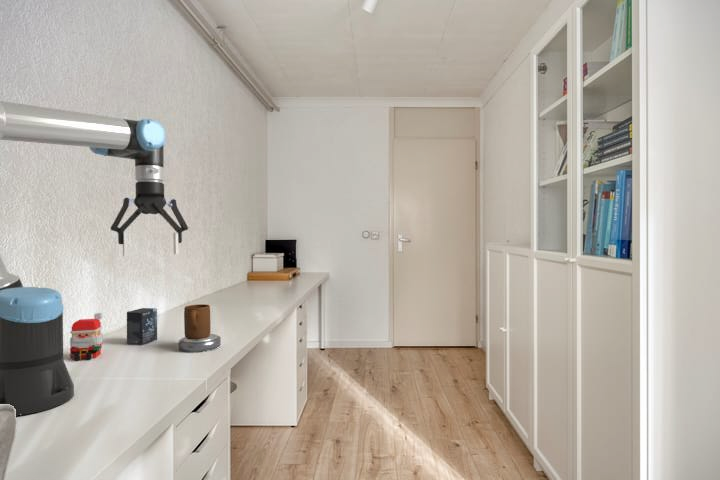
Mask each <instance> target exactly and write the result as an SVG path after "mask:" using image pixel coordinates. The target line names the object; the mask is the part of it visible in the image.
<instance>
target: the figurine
mask: <svg viewBox="0 0 720 480" xmlns="http://www.w3.org/2000/svg"><path fill="white" fill-rule="evenodd" d="M93 316H94V318H84V319H78V320H76V321H75V322H73V324H72V326H71V330H70V334H71V337H70V339H69V342H70V343H69V345H70V346H69V351H70V353H69V356H70V359H72V360H74V362H78V361H81V360H86V361H90V360H93V359H96V358H97V357H99V355H101V353H102V351H101V350H102V347H103V344H102V343H103V332H102V331H101V330H103V326H102V322H101V320H102V319H103V312H95V313H94V315H93Z"/></svg>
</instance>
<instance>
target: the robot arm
mask: <svg viewBox="0 0 720 480" xmlns="http://www.w3.org/2000/svg"><path fill="white" fill-rule="evenodd" d="M166 138H167V137H166V131H165V129H164V127H163V125H162V124H160V122H158V121H157V120H155V119H151V118H147V119H146V118H143V119H140V120H136V119H135V120H134V119H128V118H127V119H126V118H119V117H112V116H105V115H99V114H92V113H84V112H79V111H73V110H65V109H58V108H52V107H44V106H37V105H31V104H23V103H17V102H10V101H3V100H0V141H11V142H13V141H14V142H23V143H34V144H35V143H37V144H38V143H39V144H50V145H62V146H73V147H83V148H84V147H87V148H89V150H90V151H91V152H92V153H94V154H96V155H101V156H104V157H114V158H123V159H129V160H134V168H135V169H134V171H135V172H134V176H135V177H134V178H135V179H134V180H135V181H136V183H135V197H134V198H129V197H124V198H123V199H122V206H121V208H120V210H119V212H118V213H117V216H116V217H115V219H114V221H113V223H112V224H111V226H110V230H111V231H113V232H116V233H117V238H118V240H117V242H118V244H119V245H122V256H123V257H128V233H127V232H125V231H126V229H127V228H129V227H130V226H131V225H132V223H133V222H134V221H135V220H136V219H137V218H138V217H139V216H140V215H141V214H143V215H148V214H149V215H150V214H151V215H157V214H159V215H160V216H161V217H162V218H163V219H164V220H165V221H166V222H167V223H168V224H169V225H170V227H172V229H173V230H174V231H175V232H173V234H172V235H173V236H172V237H173V240H172V241H173V255H179V252H180V251H179V244H181V243H182V241H183V238H182V236H183V235H182V234H183V233H182V232H184V231H188V229H189V227H188V225H187V223H186V220H185V219H184V217H183V215H182V213H181V212H180V209H179V208H178V205H177V199H176V198H173V199H172V198H171V199H165V184H164V183H163V182H164V181H165V176H164V175H165V172H164V169H165V167H164V162H165V160H164V155H165V154H164V146H165V142H166ZM133 204H134V205H135V207H137V209H136V210H134V212H133V213H131V215H130V216H129V217H128V219H127V220H126V221H124V223H122V225H121V226H120V223H121V221H122V220H123V218H124V216H125V214H126V212H127V210H128V209H129V207H131V206H132V205H133ZM166 205H167V206H168V207H169V208H170V209H171V210H172V212H173V215H174V216H175V218H176V220H177V222H178V223H177V222H176V221H175V220H174V219H173V218H172V217H171V215H169V214H168V212H167V211H166V210H165V206H166ZM62 299H63V298H62V294H61V293H60V292H59V291H58V290H56V289H53V288H49V287H37V286H23V283H22V281H21V279H20V276H18V275H15V274H13V273H10V272H9V271H8V269H7V268H6V265H5V263H4V260H3V258H2V256H1V254H0V404H10V405H12V406H14V408H15V409H16V416H15V417H18V415H20V414H26V415H30V413H31V414H35V412H36V413H39V412H43V411H47V410H51V409H53V408H56V407H59V406H61V405H63V404H65V403H68V402H69V401H70V400H71V399H73V397H74V396H75V386H74V385H75V384H74V382H73V379H72V378H71V374H70V373H69V370H68V368H67V366H66V363H65V361H64V304H63V300H62ZM58 405H59V406H58ZM55 406H56V407H55ZM20 416H21V415H20Z"/></svg>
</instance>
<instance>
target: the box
mask: <svg viewBox="0 0 720 480" xmlns="http://www.w3.org/2000/svg"><path fill="white" fill-rule="evenodd" d="M157 340H158V308H156V307H155V308H153V307H151V308H150V307H141V308H137V309H134V310H130V311H129V310H128V311H126V345H132V346H143V345H145V344H147V343H150V342H154V341H157Z"/></svg>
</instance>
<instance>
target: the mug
mask: <svg viewBox="0 0 720 480" xmlns="http://www.w3.org/2000/svg"><path fill="white" fill-rule="evenodd" d="M183 309H184V311H183V323H184V337H186V338H188V339H199V338H205V337H208V336H209V335H210V334H211V306H210V305H209V304H191V305H187V306H184V308H183Z"/></svg>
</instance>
